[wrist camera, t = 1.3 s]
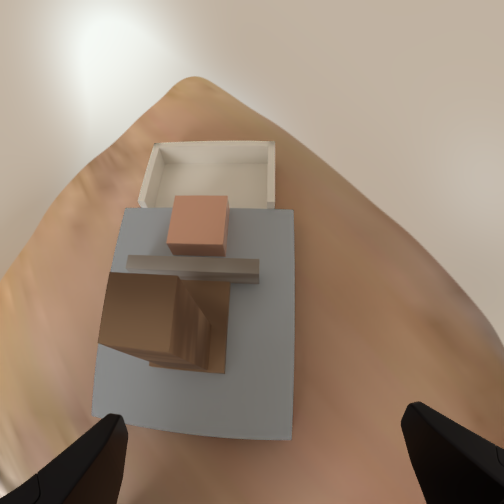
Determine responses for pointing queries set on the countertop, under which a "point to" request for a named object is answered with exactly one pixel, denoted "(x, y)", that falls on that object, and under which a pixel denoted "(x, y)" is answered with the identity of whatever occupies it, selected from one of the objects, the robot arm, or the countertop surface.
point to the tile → (199, 225)
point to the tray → (211, 173)
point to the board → (238, 340)
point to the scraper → (173, 309)
